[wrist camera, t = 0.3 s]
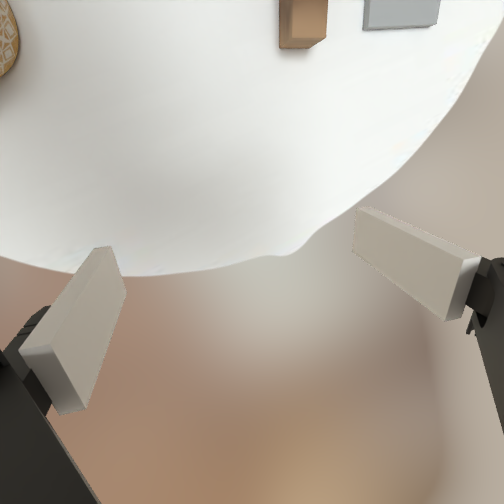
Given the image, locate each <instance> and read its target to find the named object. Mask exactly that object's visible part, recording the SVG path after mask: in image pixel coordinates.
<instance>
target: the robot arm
mask: <svg viewBox="0 0 504 504" xmlns="http://www.w3.org/2000/svg"><path fill="white" fill-rule="evenodd" d="M352 252H353V253H355V254H356V255H357V256H359V257H360V258H361V259H363V260H364V261H365V262H367V263H368V264H369V265H370V266H372V267H373V268H374V269H376V270H377V271H378V272H380V273H381V274H382V275H384V276H385V277H386V278H388V279H389V280H390V281H392V282H393V283H394V284H396V285H397V286H398V287H400V288H401V289H402V290H404V291H405V292H406V293H407V294H409V295H410V296H411V297H413V298H414V299H415V300H417V301H418V302H419V303H421V304H422V305H423V306H425V307H426V308H427V309H429V310H430V311H431V312H433V313H434V314H435V315H437V316H438V317H439V318H440V319H442V320H443V321H444V322H445V321H449V320H454V319H458V318H461V317H462V314H463V311H464V308H465V305H467V306H469V307H470V308H472V309H473V310H474V311H473V313H472V316H471V319H470V322H469V325H468V328H467V330H466V334H470V332H471V331H472V330H475V336H476V337H477V340H478V344H479V348H480V351H481V355H482V358H483V362H484V366H485V369H486V373H487V376H488V380H489V383H490V387H491V390H492V394H493V398H494V401H495V405H496V408H497V412H498V415H499V419H500V423H501V426H502V430H503V433H504V258H495V259H493V260H488V259H486V258H484V257H482V256H480V255H478V254H476V253H474V252H471V251H469V250H467V249H465V248H462V247H460V246H458V245H455V244H453V243H451V242H449V241H446V240H444V239H442V238H440V237H437V236H435V235H433V234H431V233H428V232H426V231H424V230H421V229H419V228H417V227H415V226H412V225H410V224H408V223H405V222H403V221H401V220H399V219H396V218H394V217H392V216H390V215H387V214H385V213H383V212H380V211H378V210H376V209H374V208H372V207H369V206H366V207H360V208H356V216H355V227H354V238H353V249H352ZM126 294H127V291H126V288H125V285H124V283H123V280H122V277H121V274H120V271H119V268H118V265H117V262H116V259H115V256H114V254H113V251H112V248H111V246H107V247H100V248H94V249H93V251H92V252H91V253H90V255H89V256H88V257H87V259H86V260H85V261H84V263H83V264H82V265H81V267H80V268H79V269H78V271H77V272H76V273H75V275H74V276H73V277H72V279H71V280H70V281H69V283H68V284H67V286H66V287H65V288H64V290H63V291H62V292H61V294H60V295H59V296H58V297H57V299H56V300H55V302H54V303H53V304H52V305H50V306H45V307H43V308H42V309H41V310H39V311H38V312H37V313H35V314H34V315H33V316H31V318H30V319H29V320H28V321H27V323H26V324H25V325H24V328H22V329H21V330H20V331H19V333H18V334H17V337H14V339H13V340H12V341H11V342H10V344H9V345H8V346H7V347H6V348H5V350H4V351H3V352H2V351H1V350H0V504H101V502H100V501H99V499H98V498H97V496H96V495H95V493H94V491H93V490H92V488H91V487H90V485H89V484H88V482H87V480H86V479H85V477H84V476H83V474H82V473H81V471H80V470H79V468H78V466H77V465H76V463H75V462H74V460H73V459H72V457H71V456H70V454H69V452H68V451H67V449H66V448H65V446H64V444H63V443H62V441H61V440H60V438H59V437H58V435H57V434H56V432H55V430H54V429H53V427H52V426H51V424H50V422H49V421H48V420H47V418H46V417H45V416H46V414H47V412H48V410H49V408H50V406H51V404H53V406H54V408H55V409H56V411H57V412H58V414H59V415H64V414H68V413H72V412H76V411H80V410H84V409H86V408H87V405H88V402H89V399H90V396H91V394H92V391H93V388H94V385H95V382H96V380H97V377H98V374H99V371H100V368H101V365H102V362H103V359H104V357H105V354H106V351H107V348H108V345H109V343H110V340H111V337H112V334H113V331H114V328H115V326H116V323H117V320H118V317H119V314H120V311H121V308H122V305H123V303H124V300H125V297H126Z"/></svg>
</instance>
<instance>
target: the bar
mask: <svg viewBox="0 0 504 504" xmlns="http://www.w3.org/2000/svg"><path fill="white" fill-rule="evenodd" d="M327 10H328V0H279V49H280V48H311V47H312V46H314V45H315V44H317V43H318V42H320V41H322V40H323V39H325V38H326V27H327Z"/></svg>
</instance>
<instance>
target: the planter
mask: <svg viewBox="0 0 504 504" xmlns="http://www.w3.org/2000/svg"><path fill="white" fill-rule="evenodd" d="M17 52H18V30H17V26H16V22H15V18H14V16H13V13H12V11H11V8H10V6H9V4H8V2H7V1H6V0H0V77H1V76H2V75H4V74H5V73H6V72H7V71H8V70H9V69H10V68H11V66H12V65H13V63H14V61H15V59H16V56H17Z"/></svg>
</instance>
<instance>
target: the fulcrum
mask: <svg viewBox="0 0 504 504" xmlns="http://www.w3.org/2000/svg"><path fill="white" fill-rule="evenodd" d="M440 1H441V0H365V7H364V21H363V30H376V29H396V28H415V27H430V26H433V25H435V24H437V19H438V13H439V7H440Z"/></svg>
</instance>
